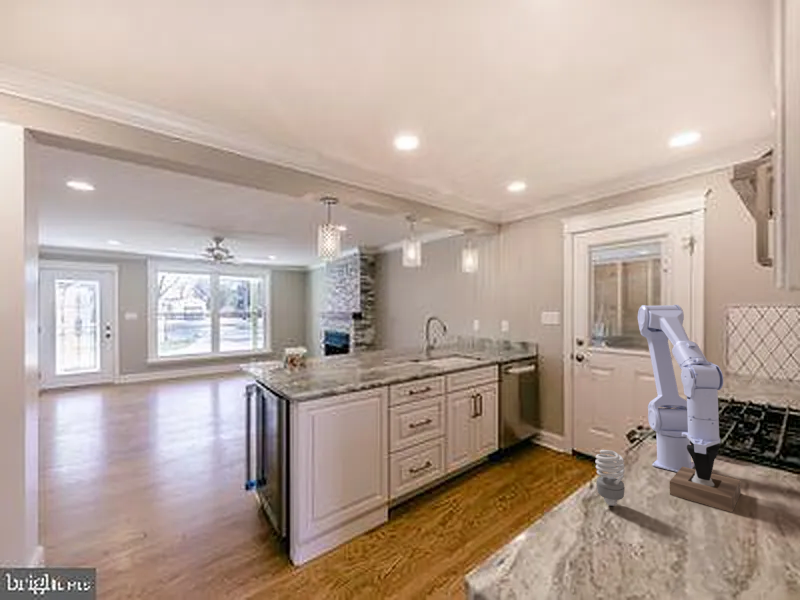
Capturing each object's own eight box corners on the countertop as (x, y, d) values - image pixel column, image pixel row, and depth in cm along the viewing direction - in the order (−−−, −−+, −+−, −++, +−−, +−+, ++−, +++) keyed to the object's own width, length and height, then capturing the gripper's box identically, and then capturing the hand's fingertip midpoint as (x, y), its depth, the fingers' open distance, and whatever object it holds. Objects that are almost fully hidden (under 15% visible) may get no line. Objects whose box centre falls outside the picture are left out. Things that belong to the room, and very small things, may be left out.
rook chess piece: (720, 494, 87) (719, 458, 87) (698, 493, 88) (697, 457, 88) (707, 485, 92) (706, 451, 92) (686, 484, 92) (685, 450, 92)
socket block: (682, 478, 98) (682, 466, 98) (740, 493, 89) (740, 480, 90) (669, 494, 89) (669, 481, 89) (732, 512, 81) (731, 497, 81)
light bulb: (590, 502, 86) (589, 448, 87) (608, 497, 88) (606, 444, 89) (613, 514, 81) (611, 456, 81) (631, 509, 83) (630, 452, 84)
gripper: (685, 407, 98) (687, 462, 98) (676, 420, 87) (678, 481, 87) (721, 412, 93) (723, 469, 93) (717, 426, 82) (719, 491, 82)
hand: (704, 476), depth 90 cm, fingers closed on rook chess piece, 3 cm apart
